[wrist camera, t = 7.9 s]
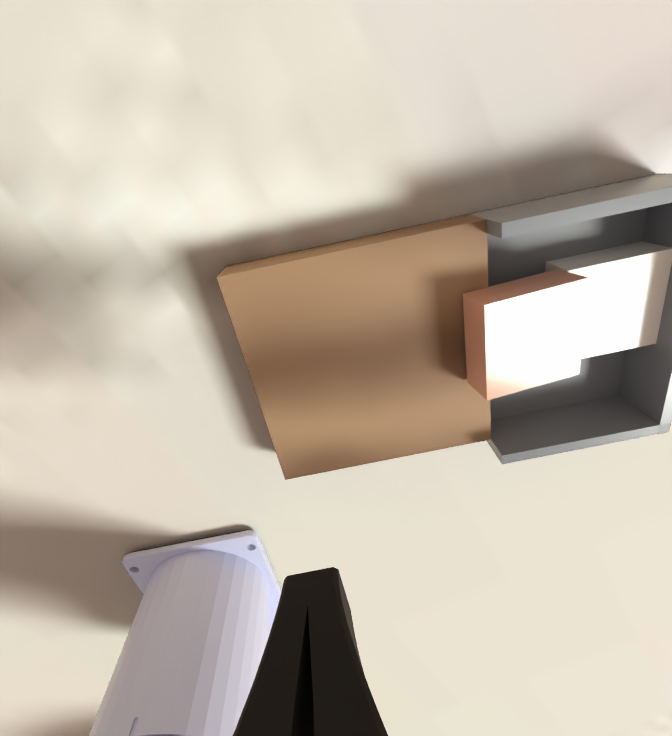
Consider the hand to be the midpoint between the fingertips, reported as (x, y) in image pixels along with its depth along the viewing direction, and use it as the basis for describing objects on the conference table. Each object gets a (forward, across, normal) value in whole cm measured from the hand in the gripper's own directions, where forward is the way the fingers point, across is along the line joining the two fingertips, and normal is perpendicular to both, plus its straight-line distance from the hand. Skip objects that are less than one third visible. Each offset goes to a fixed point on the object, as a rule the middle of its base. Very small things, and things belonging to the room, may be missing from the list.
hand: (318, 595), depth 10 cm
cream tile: (+9, -13, -3) cm, 16 cm away
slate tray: (+10, -12, -2) cm, 15 cm away
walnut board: (+10, -3, -2) cm, 10 cm away
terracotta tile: (+8, -9, -3) cm, 12 cm away
